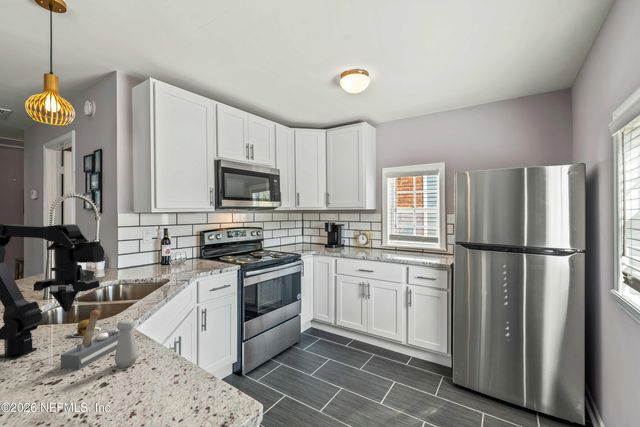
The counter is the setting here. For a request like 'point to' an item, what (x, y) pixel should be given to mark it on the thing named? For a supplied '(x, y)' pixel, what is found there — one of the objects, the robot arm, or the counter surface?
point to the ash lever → (90, 327)
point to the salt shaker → (126, 344)
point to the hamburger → (83, 328)
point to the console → (89, 352)
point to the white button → (102, 336)
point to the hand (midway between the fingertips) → (67, 311)
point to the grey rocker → (113, 330)
